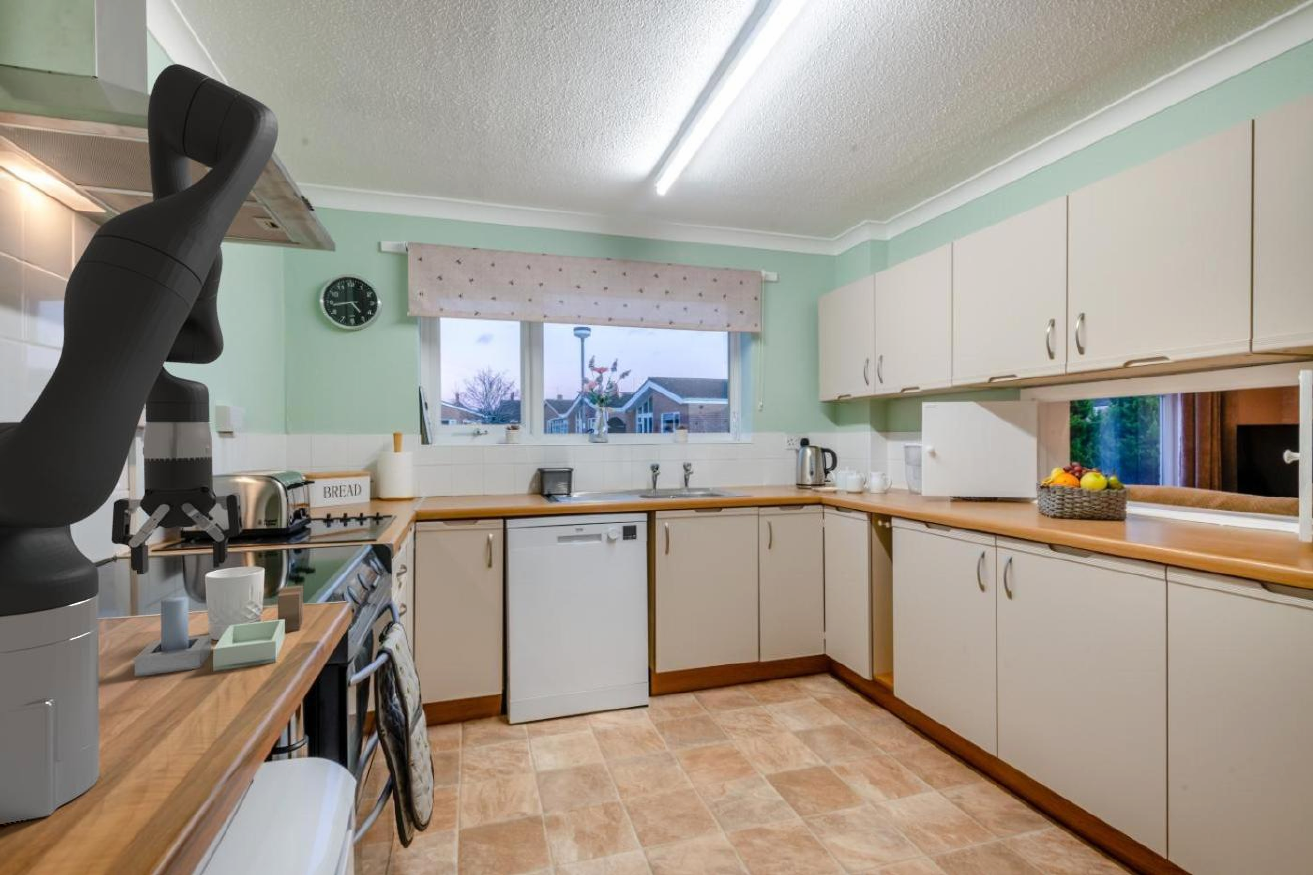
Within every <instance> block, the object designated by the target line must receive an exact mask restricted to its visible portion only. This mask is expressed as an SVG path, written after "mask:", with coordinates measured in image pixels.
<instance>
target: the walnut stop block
mask: <svg viewBox="0 0 1313 875" xmlns="http://www.w3.org/2000/svg"><path fill="white" fill-rule="evenodd" d="M303 589H304V588H303V585H292V586H282V587H281V589H280V591H279V593H278V595H277V620H282V619H285V633H288V632H294V631H301V630H300V629H301V627H302V624H303V621H304V612H303V611H304V610H303V608H304V606H303V605H304V604H303V602H304V601H303V600H304V598H303V597H304V596H303V591H304V590H303ZM302 620H303V621H302Z"/></svg>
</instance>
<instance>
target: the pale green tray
mask: <svg viewBox="0 0 1313 875" xmlns="http://www.w3.org/2000/svg"><path fill="white" fill-rule="evenodd" d="M285 639H286V632H285V619H282V620H278V619H275V620H266V621H265V620H264V621H261V622H255V623H247V624H238V625H230V626H229V627H228V629H227V630H226V631H225V633H224V634H223V636H222V637H221V639H220V640H218V642H216V644H215V646H214V647H213V649H212V651H213V653H212V655H213V656H212V657H213V658H212V659H213V660H212V661H213V662H212V663H213V665H212V667H213V668H212V671H213V672H216V671H217V672H218V671H223V670H224V671H225V670H230V669H231V670H232V669H238V668H246V667H252V666H259V665H265V664H273V663H277V660H278V658H279V654H280V652H281V649H282V647H283V644H284V642H285Z"/></svg>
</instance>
